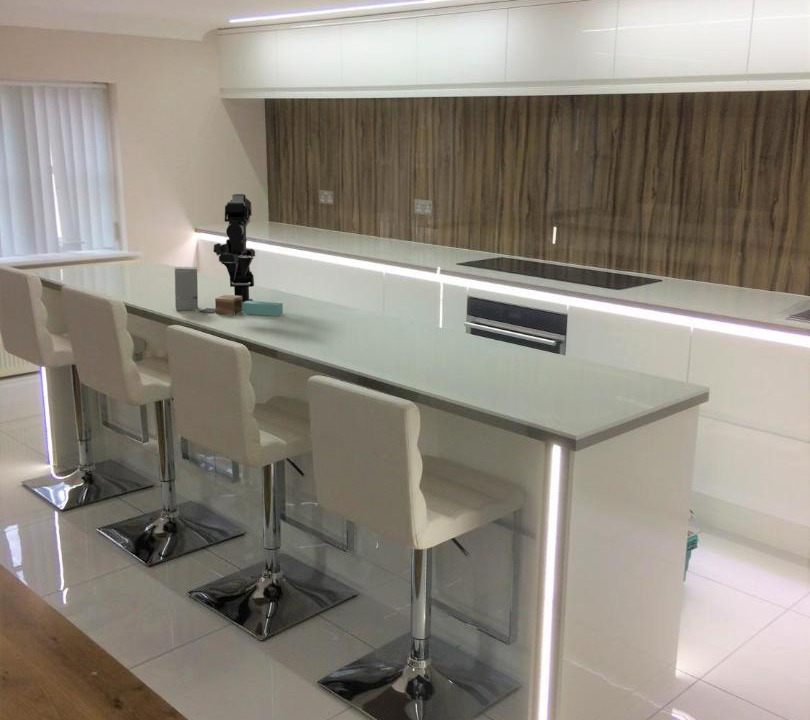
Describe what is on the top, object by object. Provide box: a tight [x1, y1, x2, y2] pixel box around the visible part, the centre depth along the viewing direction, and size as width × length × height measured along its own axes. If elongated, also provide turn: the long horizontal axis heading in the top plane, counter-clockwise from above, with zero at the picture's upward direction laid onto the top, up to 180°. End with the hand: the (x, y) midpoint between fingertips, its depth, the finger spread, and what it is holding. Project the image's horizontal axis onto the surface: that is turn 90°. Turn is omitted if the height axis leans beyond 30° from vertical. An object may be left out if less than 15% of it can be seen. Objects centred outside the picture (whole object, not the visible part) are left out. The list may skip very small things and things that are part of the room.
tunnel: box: [214, 294, 243, 316], centre depth 332 cm, size 8×7×6 cm
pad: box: [242, 313, 285, 319], centre depth 329 cm, size 8×13×1 cm, turn 74°
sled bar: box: [242, 300, 284, 316], centre depth 329 cm, size 4×14×4 cm, turn 74°
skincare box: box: [174, 266, 199, 311], centre depth 337 cm, size 8×7×16 cm
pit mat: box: [197, 307, 216, 314], centre depth 335 cm, size 7×6×1 cm
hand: (238, 278), depth 335 cm, fingers open, 9 cm apart
